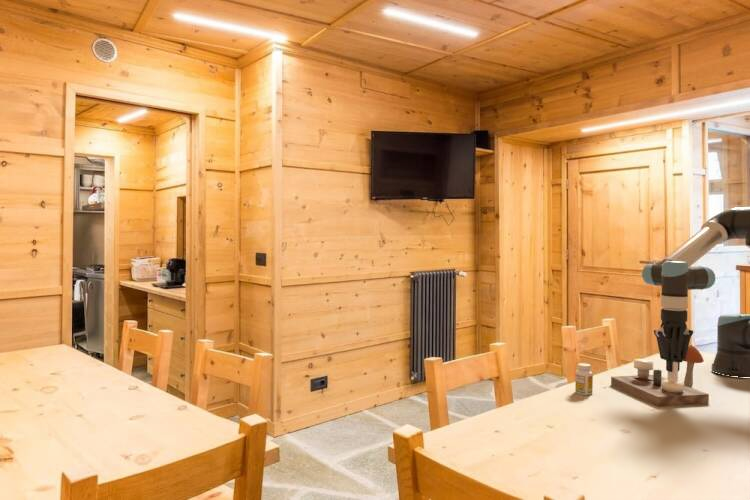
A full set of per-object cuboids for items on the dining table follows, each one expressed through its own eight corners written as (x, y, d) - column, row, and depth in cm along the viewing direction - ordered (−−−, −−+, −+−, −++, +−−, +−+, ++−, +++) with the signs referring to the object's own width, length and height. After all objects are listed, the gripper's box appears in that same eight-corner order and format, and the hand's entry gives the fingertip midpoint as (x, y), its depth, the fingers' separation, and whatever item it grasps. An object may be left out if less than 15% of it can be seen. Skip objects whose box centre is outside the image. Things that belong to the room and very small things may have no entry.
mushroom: (708, 390, 183) (709, 347, 183) (684, 390, 183) (685, 347, 183) (694, 384, 191) (695, 342, 191) (672, 383, 191) (673, 342, 191)
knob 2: (673, 395, 176) (673, 379, 176) (687, 401, 170) (687, 384, 170) (657, 396, 175) (657, 380, 175) (670, 402, 169) (671, 385, 169)
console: (655, 382, 193) (656, 374, 193) (708, 403, 169) (708, 394, 169) (611, 385, 189) (611, 376, 189) (658, 406, 166) (658, 397, 166)
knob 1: (645, 373, 189) (645, 358, 189) (656, 378, 184) (657, 362, 183) (630, 374, 188) (630, 359, 188) (641, 379, 182) (641, 363, 182)
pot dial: (657, 383, 181) (658, 368, 180) (662, 385, 178) (663, 370, 178) (651, 384, 180) (651, 368, 180) (656, 386, 178) (656, 370, 178)
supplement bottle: (589, 390, 182) (590, 362, 182) (594, 395, 177) (595, 366, 177) (573, 390, 183) (573, 362, 182) (577, 395, 177) (578, 366, 177)
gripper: (683, 306, 176) (681, 377, 177) (648, 307, 174) (646, 379, 175) (700, 310, 169) (699, 383, 170) (664, 311, 167) (662, 385, 167)
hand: (672, 381), depth 172 cm, fingers closed
